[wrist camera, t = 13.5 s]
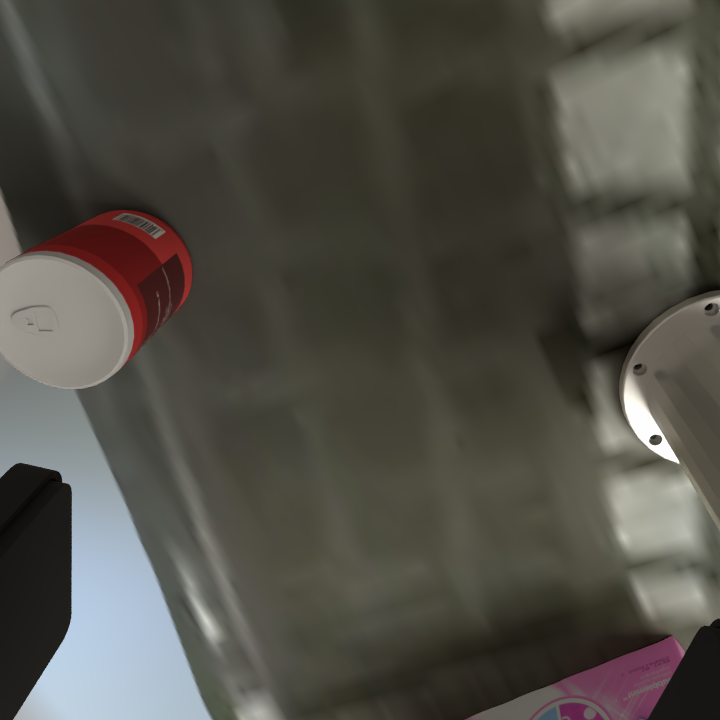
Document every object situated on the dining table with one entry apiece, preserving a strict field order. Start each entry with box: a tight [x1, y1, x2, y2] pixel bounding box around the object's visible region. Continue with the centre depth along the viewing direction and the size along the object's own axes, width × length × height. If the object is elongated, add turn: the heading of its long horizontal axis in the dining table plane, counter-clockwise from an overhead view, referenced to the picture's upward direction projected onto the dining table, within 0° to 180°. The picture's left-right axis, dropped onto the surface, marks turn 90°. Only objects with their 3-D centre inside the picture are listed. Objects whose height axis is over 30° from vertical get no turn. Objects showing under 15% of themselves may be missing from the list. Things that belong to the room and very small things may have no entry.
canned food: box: [0, 210, 193, 389], centre depth 40 cm, size 8×8×11 cm
